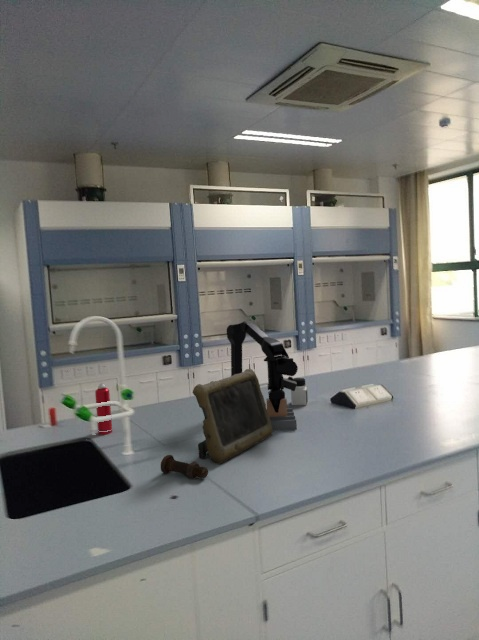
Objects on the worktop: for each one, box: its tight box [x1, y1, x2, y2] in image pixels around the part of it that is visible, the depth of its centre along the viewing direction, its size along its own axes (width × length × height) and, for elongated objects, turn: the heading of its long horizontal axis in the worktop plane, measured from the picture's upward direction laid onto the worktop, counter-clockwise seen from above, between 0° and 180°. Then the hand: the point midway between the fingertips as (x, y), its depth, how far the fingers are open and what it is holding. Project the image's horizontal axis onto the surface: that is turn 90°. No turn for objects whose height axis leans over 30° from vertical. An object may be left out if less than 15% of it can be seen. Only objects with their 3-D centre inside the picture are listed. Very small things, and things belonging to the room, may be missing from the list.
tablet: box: [192, 368, 273, 465], centre depth 156 cm, size 33×14×25 cm, turn 149°
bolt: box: [160, 454, 209, 480], centre depth 135 cm, size 6×5×15 cm
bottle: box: [94, 383, 113, 436], centre depth 181 cm, size 6×5×20 cm
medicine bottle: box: [290, 377, 309, 406], centre depth 210 cm, size 7×7×12 cm
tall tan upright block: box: [265, 397, 288, 417], centre depth 180 cm, size 8×3×8 cm, turn 88°
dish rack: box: [269, 408, 298, 431], centre depth 181 cm, size 14×17×4 cm
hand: (276, 411), depth 180 cm, fingers closed on tall tan upright block, 3 cm apart
